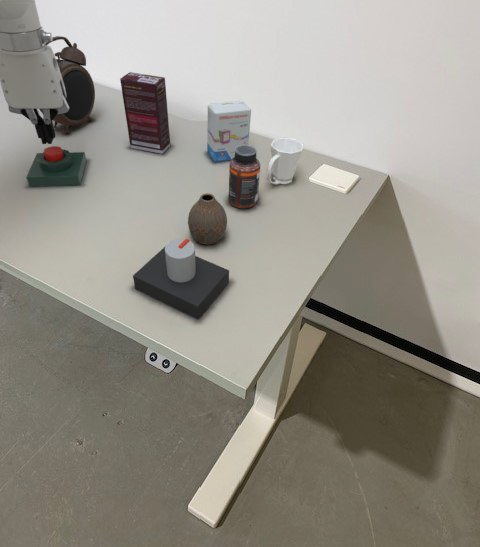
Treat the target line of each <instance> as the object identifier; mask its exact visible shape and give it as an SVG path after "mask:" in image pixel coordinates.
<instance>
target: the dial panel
mask: <svg viewBox="0 0 480 547" xmlns="http://www.w3.org/2000/svg"><path fill="white" fill-rule="evenodd" d="M165 247H166V245H165V246H164V247H162V248H161V249H160V250H159V251H158V252H157V253H156V254H155V255H154V256H153V257H152V258H150V260H148V261H147V262H146V263H145V264H144V265H143V266H142V267H140V269H138V271H136V272H135V273H134V274H133V275H132V279H133V285H134V289H135V290H136V291H139V292H141V293H142V294H144V295H146V296H149V297H151V298H153V299H155V300H157V301H159V302H162V303H163V304H165V305H168V306H169V307H171V308H173V309H176V310H178V311H180V312H182V313H184V314H185V315H188V316H190V317H192V318H194V319H196V320H200V318H201V317H202V316H203V315H204V313H205V312H206V311H207V310H208V309H209V308H210V306H211V305H212V304H213V303H214V302H215V300H217V298H218V297H219V295H221V293H223V291H224V290H225V289H226V288H227V286H228V285H229V282H230V270H229V269H228V268H225V267H222V266H220V265H218V264H215V263H213V262H211V261H209V260H206V259H204V258H202V257H199V256H197V255H195V265H196V274H195V276H194V278H193V279H191V280H190V281H187V282H181V283H180V282H175V281H172V280H171V279H170V278H169V277H168V274H167V265H166V256H165Z"/></svg>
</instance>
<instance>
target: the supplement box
mask: <svg viewBox="0 0 480 547" xmlns="http://www.w3.org/2000/svg"><path fill="white" fill-rule="evenodd" d="M119 81H120V86H121V93H122V100H123V101H122V102H123V107H124V114H125V120H126V127H127V133H128V140H129V146H130V149H134V150H141V151H144V152H145V151H146V152H152V153H156V154H162V155H163V154H164V153H165V152H166V151H167V150H168V149H169V148H170V147H171V135H170V122H169V113H168V110H169V109H168V98H167V87H166V86H167V85H166V78H165V77H164V76H157V75H152V74H144V73H138V72H132V71H129V72H127V73H126V74H125V75H122V77H120V78H119Z"/></svg>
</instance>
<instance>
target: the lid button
mask: <svg viewBox="0 0 480 547" xmlns="http://www.w3.org/2000/svg"><path fill="white" fill-rule="evenodd" d="M62 149H63V148H62V147H60V146H59V145H58V146H57V145H56V146H54V145H53V146H48V147H46V148H44V149H43V152H44V155H45V158H46V160H47V161H59V160H62V159H63V158H64V155H63V151H62Z"/></svg>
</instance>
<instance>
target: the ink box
mask: <svg viewBox="0 0 480 547" xmlns="http://www.w3.org/2000/svg"><path fill="white" fill-rule="evenodd" d="M251 115H252V109H251V108H250V107H249V106H248V104H247V103H246V102H245V101H244V100H232V101H219V102H218V101H217V102H210V103H209V104H208V105H207V131H206V132H207V135H206V137H207V138H206V139H207V145H206V146H207V147H206V148H207V149H206V152H207V154H208V155H209V157H210V159H211V160H212V161H213V162H214V163H219V162H226V161H231V160H232V158H234V157H235V149H236V148H237V147H239V146H249V143H250V142H249V141H250V130H251V117H252V116H251Z"/></svg>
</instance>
